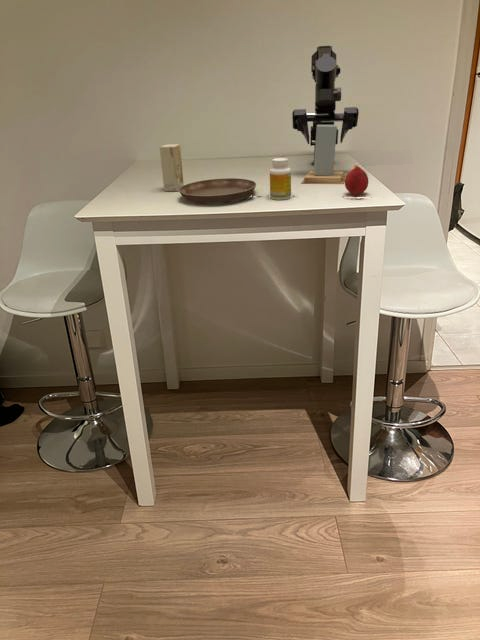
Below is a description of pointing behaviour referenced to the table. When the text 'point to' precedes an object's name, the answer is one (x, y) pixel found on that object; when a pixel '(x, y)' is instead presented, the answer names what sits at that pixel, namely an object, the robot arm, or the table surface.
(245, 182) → the plant saucer
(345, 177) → the walnut base slab
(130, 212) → the table surface
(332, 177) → the oak top slab
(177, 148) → the skincare box
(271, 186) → the supplement bottle
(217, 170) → the table surface
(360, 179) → the onion
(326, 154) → the slate block
